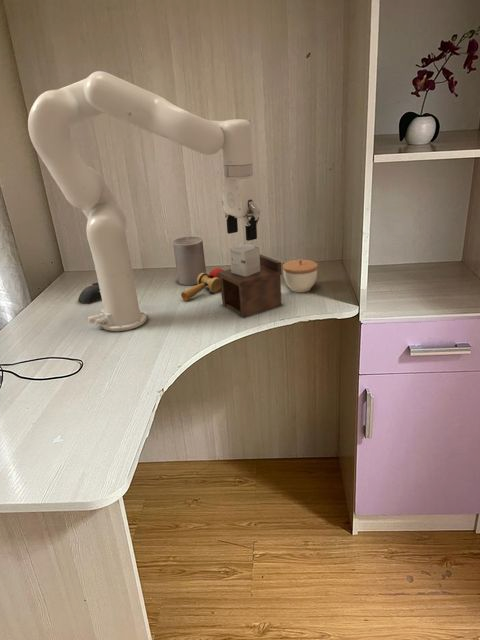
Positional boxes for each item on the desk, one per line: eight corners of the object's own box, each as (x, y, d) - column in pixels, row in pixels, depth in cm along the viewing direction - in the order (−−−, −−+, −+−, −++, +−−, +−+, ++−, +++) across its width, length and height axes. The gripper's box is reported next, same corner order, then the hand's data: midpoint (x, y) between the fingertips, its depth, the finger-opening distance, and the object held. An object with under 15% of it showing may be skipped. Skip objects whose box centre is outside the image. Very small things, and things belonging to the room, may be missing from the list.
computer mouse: (63, 298, 170) (61, 286, 168) (108, 281, 182) (106, 270, 180) (86, 305, 163) (83, 293, 161) (131, 288, 175) (128, 276, 173)
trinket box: (316, 295, 160) (316, 265, 155) (281, 294, 162) (280, 265, 157) (319, 282, 169) (319, 254, 165) (286, 282, 171) (285, 254, 167)
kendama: (196, 307, 160) (235, 282, 170) (189, 288, 157) (229, 263, 168) (180, 306, 165) (219, 281, 176) (173, 288, 162) (213, 264, 173)
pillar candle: (185, 275, 184) (180, 232, 177) (211, 276, 181) (206, 233, 174) (173, 284, 175) (166, 240, 169) (199, 286, 173) (194, 241, 166)
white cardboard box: (231, 273, 150) (228, 248, 147) (246, 267, 154) (244, 242, 151) (246, 277, 146) (244, 251, 143) (261, 271, 150) (259, 246, 147)
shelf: (242, 318, 148) (238, 273, 142) (221, 305, 157) (216, 263, 151) (283, 305, 154) (281, 262, 148) (260, 294, 163) (257, 253, 157)
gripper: (209, 169, 142) (214, 232, 150) (243, 176, 129) (247, 245, 137) (233, 166, 146) (237, 228, 154) (269, 173, 133) (271, 240, 141)
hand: (241, 236), depth 145 cm, fingers open, 9 cm apart
